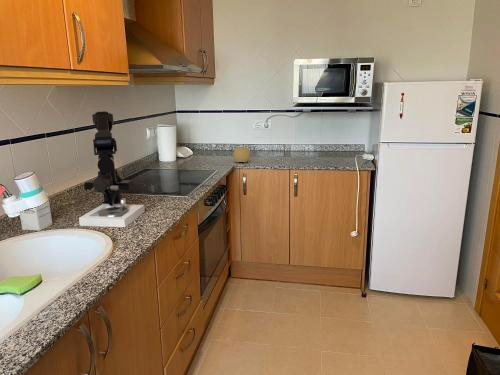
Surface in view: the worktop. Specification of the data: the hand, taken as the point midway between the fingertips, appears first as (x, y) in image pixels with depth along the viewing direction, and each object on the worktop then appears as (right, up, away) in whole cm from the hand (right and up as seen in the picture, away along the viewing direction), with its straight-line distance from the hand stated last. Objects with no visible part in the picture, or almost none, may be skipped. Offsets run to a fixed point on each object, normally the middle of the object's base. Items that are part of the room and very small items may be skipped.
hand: (111, 205), depth 152 cm
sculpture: (+50, +24, +106) cm, 120 cm away
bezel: (+2, -5, -3) cm, 6 cm away
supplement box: (-23, -8, -11) cm, 27 cm away
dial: (+2, -4, -4) cm, 6 cm away
